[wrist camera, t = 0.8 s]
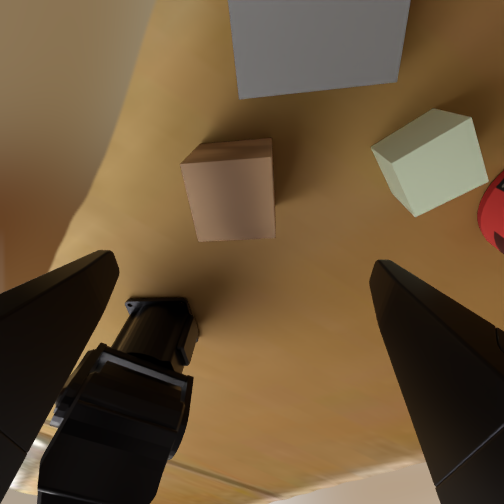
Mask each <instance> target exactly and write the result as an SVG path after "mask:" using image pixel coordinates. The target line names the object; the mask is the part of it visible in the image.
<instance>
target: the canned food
mask: <svg viewBox="0 0 504 504" xmlns="http://www.w3.org/2000/svg"><path fill="white" fill-rule="evenodd" d="M477 221H478V224H479V228H480V230H481V232H482V234H483V236H484V237H485V238H486V240H487V241H488V242H489V243H491V244H492V245H493V246H494V247H496V248H497V249H498V250H499V251H500V252H502V253H503V254H504V171H503V172H502V173H501V174H499V175H498V177H497V178H496V179H495V180H494V181H493V182H492V183H491V184H490V186H489V187H488V189H487V190H486V192H485V193H484V195H483V197H482V200H481V202H480V204H479V208H478V212H477Z"/></svg>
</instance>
